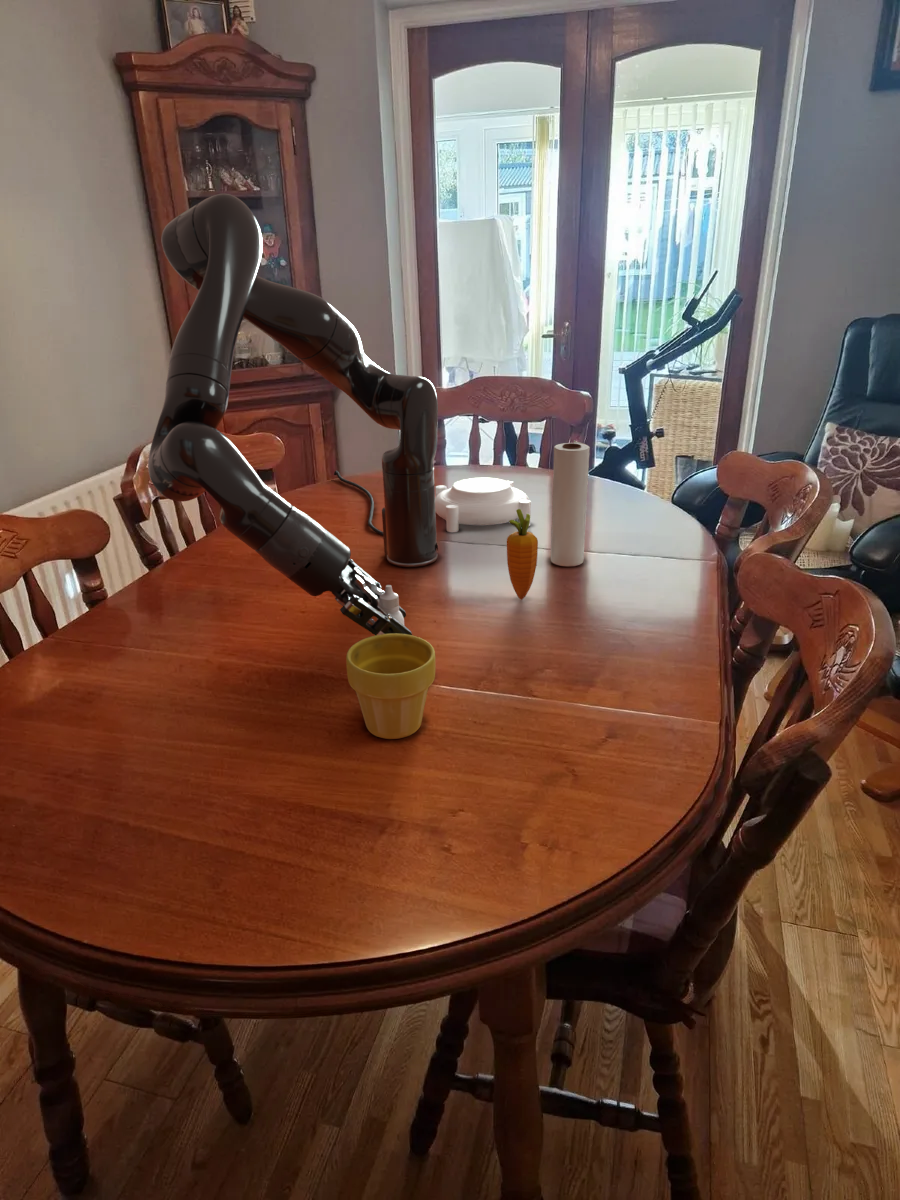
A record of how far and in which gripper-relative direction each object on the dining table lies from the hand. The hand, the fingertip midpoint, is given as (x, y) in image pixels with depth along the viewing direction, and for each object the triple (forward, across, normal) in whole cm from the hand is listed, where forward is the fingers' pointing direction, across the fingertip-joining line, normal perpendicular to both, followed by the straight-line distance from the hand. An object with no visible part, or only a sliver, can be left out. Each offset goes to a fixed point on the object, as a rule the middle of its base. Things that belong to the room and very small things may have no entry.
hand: (404, 629), depth 98 cm
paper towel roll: (+29, -36, +19) cm, 50 cm away
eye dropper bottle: (+3, 0, -5) cm, 6 cm away
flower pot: (+3, +11, -7) cm, 14 cm away
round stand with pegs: (+22, -65, +12) cm, 70 cm away
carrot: (+20, -21, +10) cm, 31 cm away
